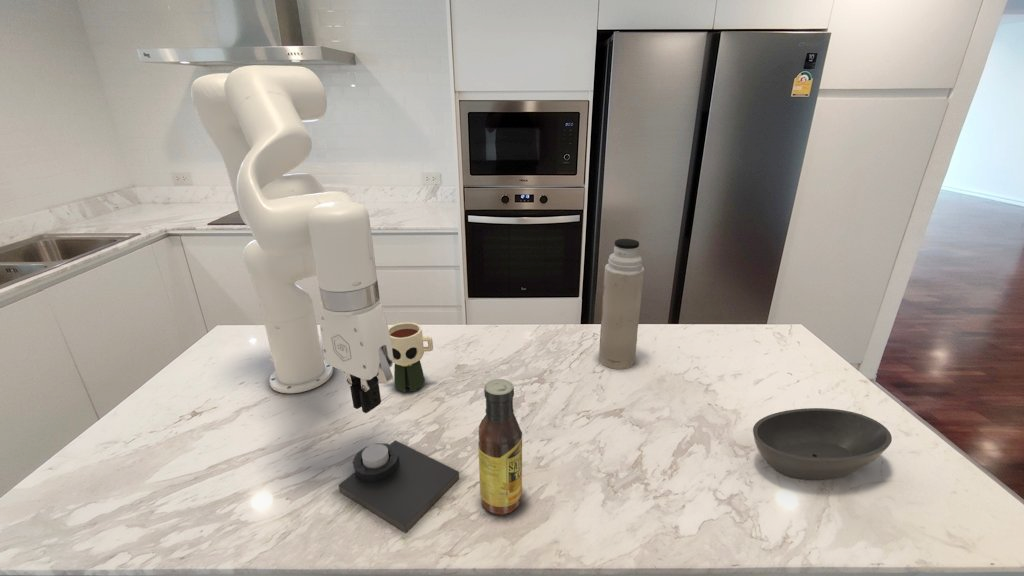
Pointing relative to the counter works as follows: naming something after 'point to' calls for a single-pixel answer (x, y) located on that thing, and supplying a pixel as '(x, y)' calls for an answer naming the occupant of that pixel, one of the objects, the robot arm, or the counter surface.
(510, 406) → the sauce bottle
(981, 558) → the counter surface
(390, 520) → the scale
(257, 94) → the robot arm
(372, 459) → the button
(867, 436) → the bowl
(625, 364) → the thermos bottle
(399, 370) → the character mug
